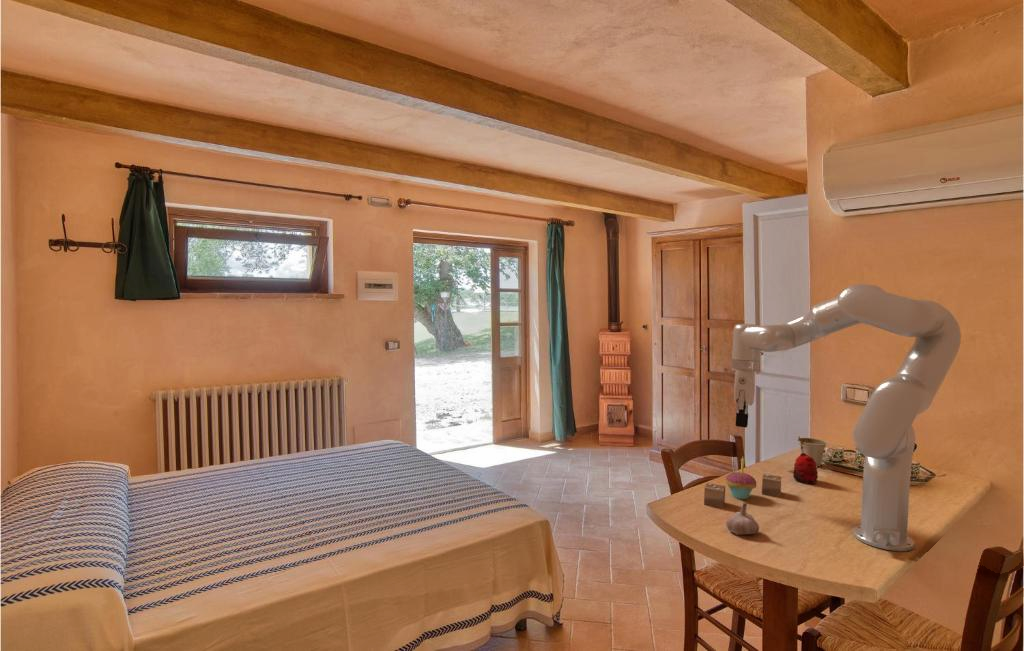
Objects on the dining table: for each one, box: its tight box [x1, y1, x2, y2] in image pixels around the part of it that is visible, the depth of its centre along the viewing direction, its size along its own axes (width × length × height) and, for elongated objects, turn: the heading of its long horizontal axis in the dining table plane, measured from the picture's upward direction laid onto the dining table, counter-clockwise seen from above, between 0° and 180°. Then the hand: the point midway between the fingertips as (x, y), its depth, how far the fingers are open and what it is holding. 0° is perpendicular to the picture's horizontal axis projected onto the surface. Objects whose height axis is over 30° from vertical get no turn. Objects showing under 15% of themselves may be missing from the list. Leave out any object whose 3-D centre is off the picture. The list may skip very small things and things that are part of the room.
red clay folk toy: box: [792, 436, 819, 485], centre depth 177 cm, size 8×7×15 cm
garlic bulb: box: [725, 501, 760, 536], centre depth 137 cm, size 8×7×8 cm
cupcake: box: [725, 457, 757, 500], centre depth 162 cm, size 9×8×12 cm
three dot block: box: [703, 482, 726, 509], centre depth 156 cm, size 5×5×5 cm
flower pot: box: [796, 437, 828, 467], centre depth 195 cm, size 9×9×9 cm
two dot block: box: [761, 473, 782, 498], centre depth 166 cm, size 5×5×5 cm
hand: (741, 426), depth 162 cm, fingers closed
